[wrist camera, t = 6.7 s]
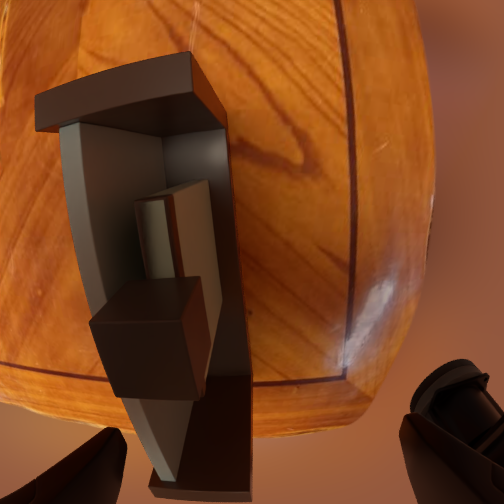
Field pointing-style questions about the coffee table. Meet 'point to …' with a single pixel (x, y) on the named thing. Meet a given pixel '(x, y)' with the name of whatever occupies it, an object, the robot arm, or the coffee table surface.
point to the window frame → (130, 256)
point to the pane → (165, 301)
